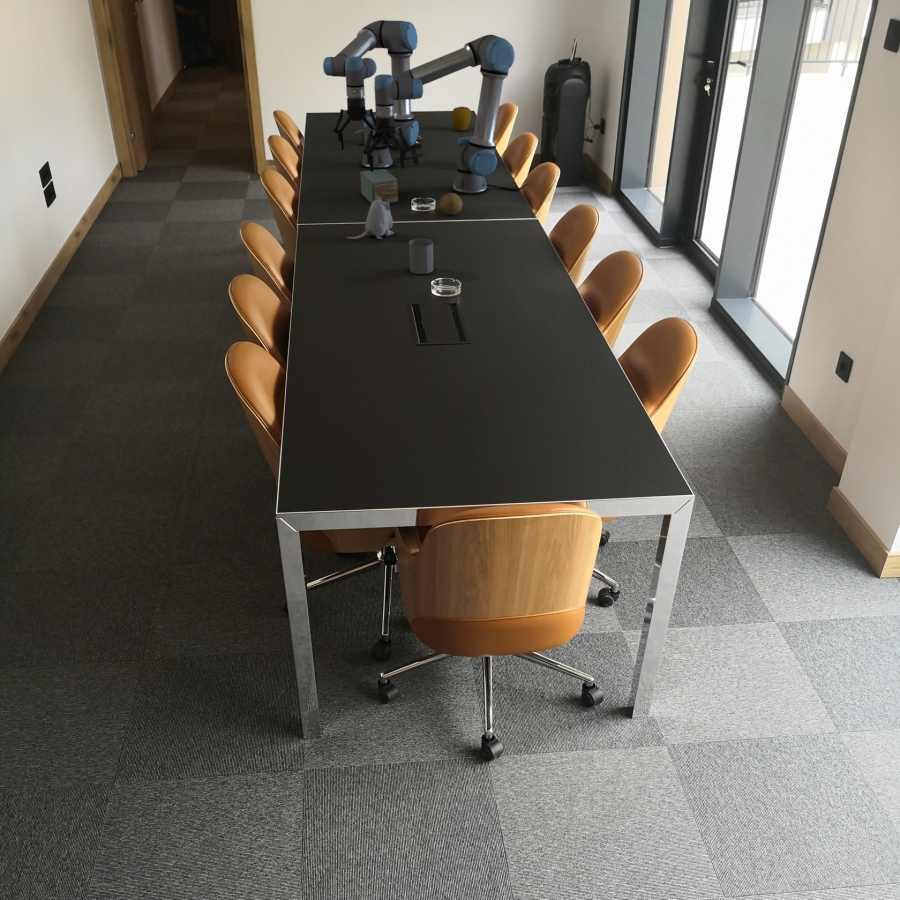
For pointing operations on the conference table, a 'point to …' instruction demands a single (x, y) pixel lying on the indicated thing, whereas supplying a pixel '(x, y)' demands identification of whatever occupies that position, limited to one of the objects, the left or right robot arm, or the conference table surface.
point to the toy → (378, 220)
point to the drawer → (386, 191)
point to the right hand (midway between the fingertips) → (387, 169)
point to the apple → (461, 118)
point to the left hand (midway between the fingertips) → (358, 149)
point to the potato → (451, 204)
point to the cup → (421, 256)
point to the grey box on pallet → (374, 182)
